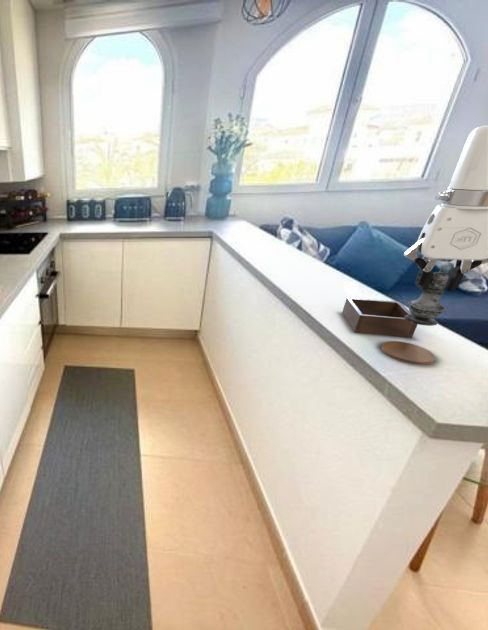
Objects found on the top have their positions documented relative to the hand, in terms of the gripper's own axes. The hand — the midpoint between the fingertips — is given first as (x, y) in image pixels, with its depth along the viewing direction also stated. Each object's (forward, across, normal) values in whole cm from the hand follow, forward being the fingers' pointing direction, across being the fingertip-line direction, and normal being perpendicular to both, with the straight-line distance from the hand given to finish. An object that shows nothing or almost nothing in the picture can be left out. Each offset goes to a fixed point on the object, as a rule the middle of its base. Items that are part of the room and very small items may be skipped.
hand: (434, 288), depth 72 cm
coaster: (+16, 0, 0) cm, 16 cm away
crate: (+16, -2, +14) cm, 22 cm away
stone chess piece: (+8, 0, 0) cm, 8 cm away
